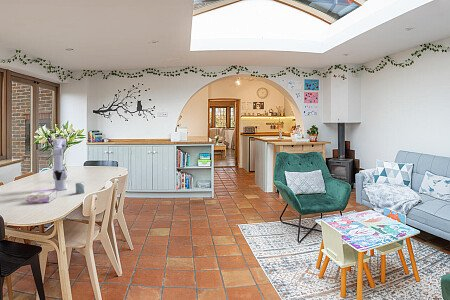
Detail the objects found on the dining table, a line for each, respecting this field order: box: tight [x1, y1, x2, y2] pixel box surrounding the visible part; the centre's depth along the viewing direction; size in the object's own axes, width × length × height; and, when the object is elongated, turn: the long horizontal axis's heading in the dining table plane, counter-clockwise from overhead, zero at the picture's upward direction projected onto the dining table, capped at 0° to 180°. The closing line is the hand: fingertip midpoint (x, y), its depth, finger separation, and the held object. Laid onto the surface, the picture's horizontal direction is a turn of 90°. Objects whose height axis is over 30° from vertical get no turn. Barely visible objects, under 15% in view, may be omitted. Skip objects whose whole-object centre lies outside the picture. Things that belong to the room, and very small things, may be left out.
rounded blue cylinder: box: [75, 182, 85, 195], centre depth 245 cm, size 6×6×8 cm
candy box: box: [26, 189, 58, 204], centre depth 221 cm, size 14×6×16 cm
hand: (58, 180), depth 243 cm, fingers closed
